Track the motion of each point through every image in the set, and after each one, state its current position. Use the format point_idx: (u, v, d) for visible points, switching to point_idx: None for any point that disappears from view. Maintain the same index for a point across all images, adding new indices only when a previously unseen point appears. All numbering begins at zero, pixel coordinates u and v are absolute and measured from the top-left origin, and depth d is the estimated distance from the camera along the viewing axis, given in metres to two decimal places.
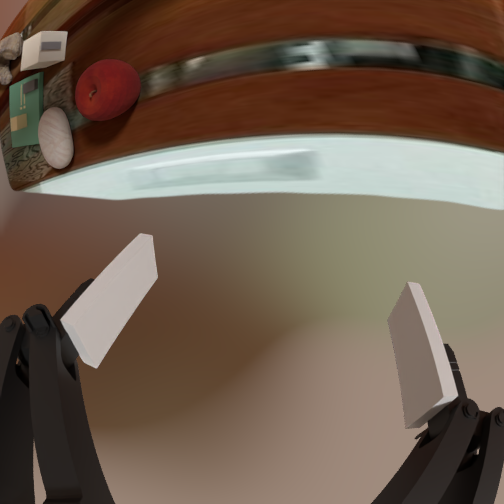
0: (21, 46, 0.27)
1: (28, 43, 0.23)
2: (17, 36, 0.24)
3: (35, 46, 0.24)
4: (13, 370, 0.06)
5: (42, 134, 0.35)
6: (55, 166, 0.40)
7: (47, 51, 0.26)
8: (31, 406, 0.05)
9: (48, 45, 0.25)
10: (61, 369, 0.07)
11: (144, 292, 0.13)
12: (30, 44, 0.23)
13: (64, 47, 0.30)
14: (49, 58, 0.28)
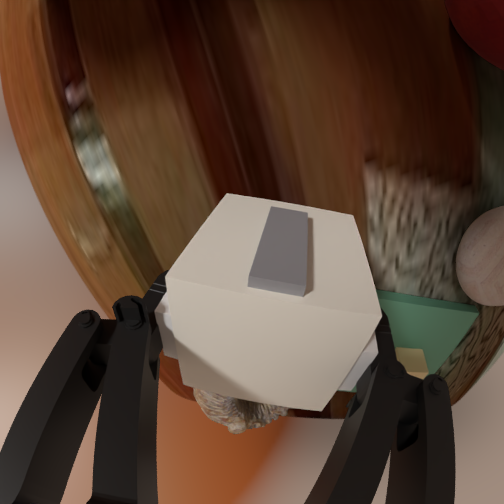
0: None
1: (205, 366, 0.10)
2: None
3: (252, 330, 0.08)
4: (79, 372, 0.07)
5: None
6: None
7: (314, 262, 0.09)
8: (102, 402, 0.06)
9: (283, 249, 0.09)
10: (146, 369, 0.08)
11: None
12: (216, 356, 0.09)
13: (297, 207, 0.13)
14: (354, 258, 0.09)
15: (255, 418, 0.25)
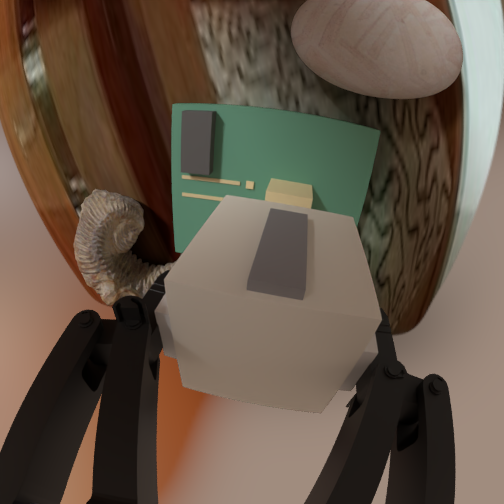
0: (124, 197, 0.23)
1: (204, 369, 0.10)
2: (91, 195, 0.22)
3: (251, 333, 0.08)
4: (79, 372, 0.07)
5: (369, 46, 0.11)
6: (460, 54, 0.10)
7: (314, 265, 0.09)
8: (102, 402, 0.06)
9: (282, 251, 0.09)
10: (146, 369, 0.08)
11: None
12: (215, 358, 0.09)
13: (297, 208, 0.13)
14: (354, 261, 0.09)
15: (130, 287, 0.24)
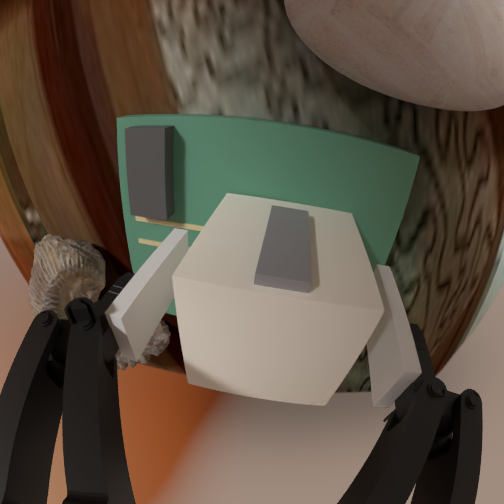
0: (81, 245, 0.17)
1: (210, 365, 0.10)
2: (42, 242, 0.16)
3: (258, 326, 0.08)
4: (43, 368, 0.07)
5: (418, 20, 0.05)
6: None
7: (317, 259, 0.09)
8: (64, 401, 0.05)
9: (286, 247, 0.09)
10: (101, 367, 0.07)
11: None
12: (221, 353, 0.10)
13: (297, 205, 0.13)
14: (355, 255, 0.10)
15: None
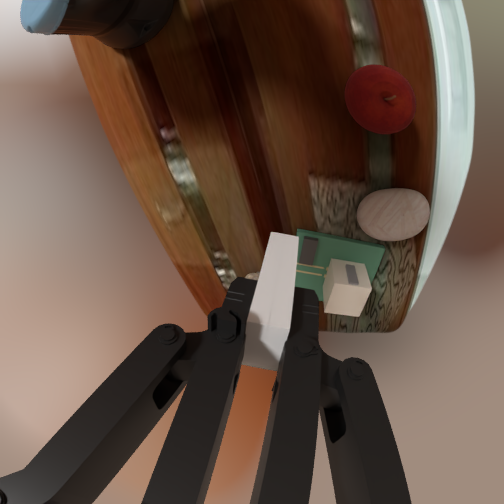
0: None
1: (334, 304, 0.43)
2: (257, 275, 0.49)
3: (348, 292, 0.41)
4: (150, 392, 0.07)
5: (387, 227, 0.38)
6: (426, 220, 0.37)
7: (358, 278, 0.42)
8: (177, 414, 0.06)
9: (352, 276, 0.42)
10: (231, 387, 0.07)
11: None
12: (338, 300, 0.43)
13: (350, 262, 0.46)
14: (365, 277, 0.43)
15: None
